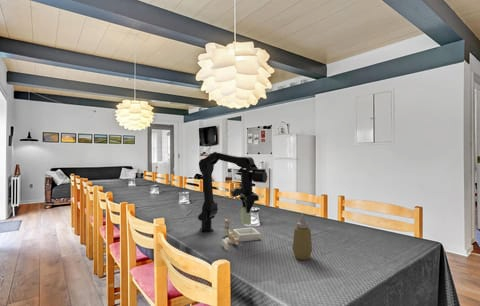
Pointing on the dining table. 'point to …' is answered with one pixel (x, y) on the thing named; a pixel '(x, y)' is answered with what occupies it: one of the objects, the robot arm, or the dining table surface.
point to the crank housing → (227, 242)
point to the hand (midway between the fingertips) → (246, 212)
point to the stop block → (245, 216)
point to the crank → (230, 233)
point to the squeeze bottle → (302, 240)
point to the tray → (247, 234)
